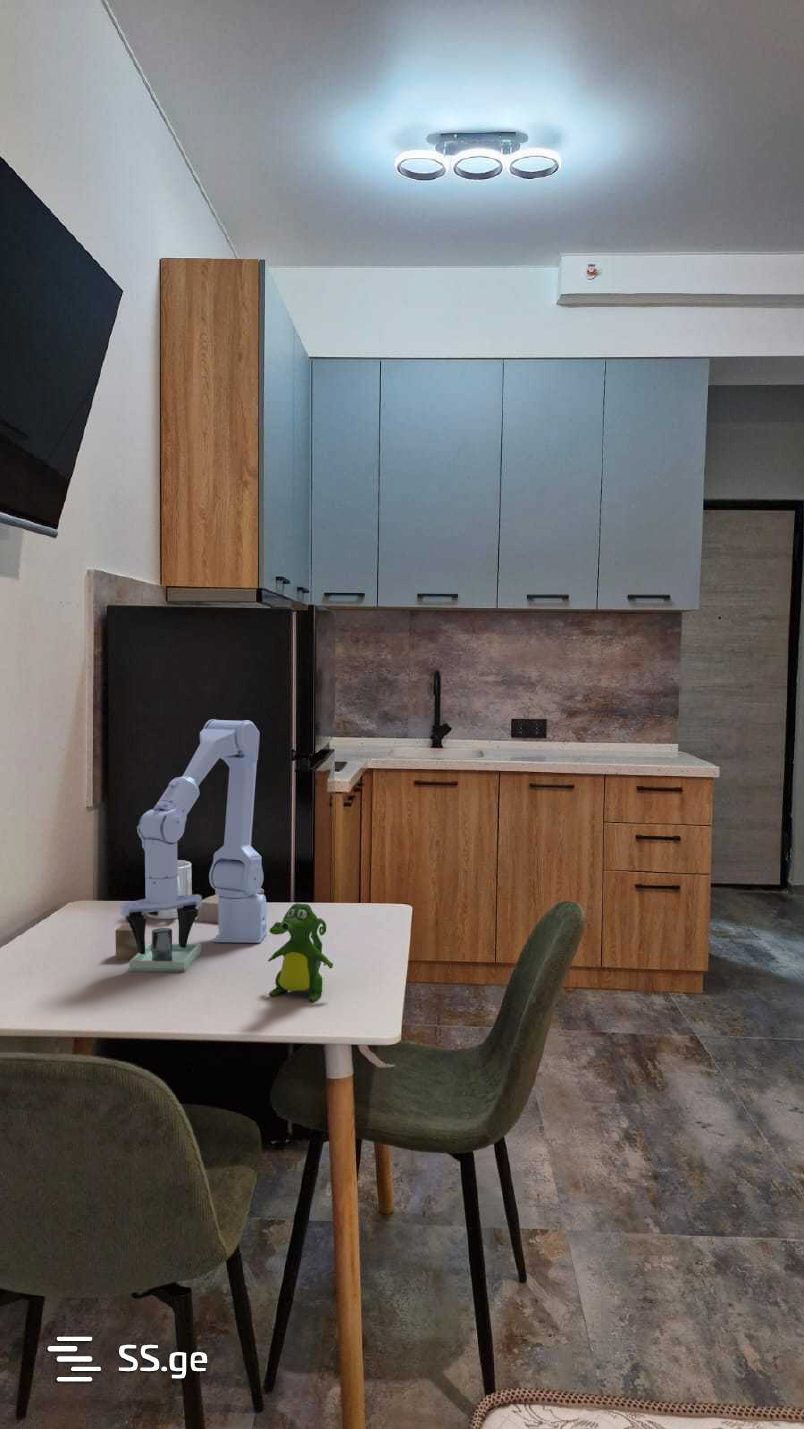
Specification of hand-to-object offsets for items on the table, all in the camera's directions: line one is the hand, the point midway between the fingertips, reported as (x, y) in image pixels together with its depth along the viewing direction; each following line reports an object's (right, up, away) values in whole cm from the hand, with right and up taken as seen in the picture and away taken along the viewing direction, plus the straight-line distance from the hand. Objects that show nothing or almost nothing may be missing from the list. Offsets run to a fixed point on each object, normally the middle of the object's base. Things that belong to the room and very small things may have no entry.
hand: (162, 949), depth 183 cm
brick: (+6, -2, +40) cm, 40 cm away
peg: (0, -2, 0) cm, 2 cm away
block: (-8, -3, +7) cm, 10 cm away
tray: (0, -3, +3) cm, 4 cm away
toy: (+27, -4, -14) cm, 31 cm away
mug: (-8, -1, +38) cm, 39 cm away
